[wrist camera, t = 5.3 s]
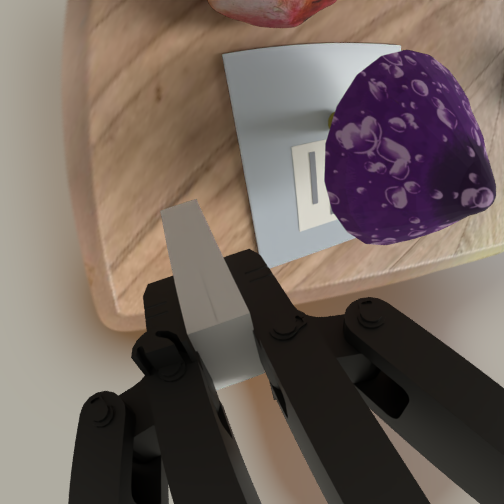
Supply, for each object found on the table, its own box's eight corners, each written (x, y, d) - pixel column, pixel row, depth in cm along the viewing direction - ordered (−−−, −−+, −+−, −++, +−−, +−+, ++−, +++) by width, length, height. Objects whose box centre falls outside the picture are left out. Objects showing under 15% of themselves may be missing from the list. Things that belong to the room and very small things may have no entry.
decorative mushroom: (360, 25, 18) (533, 43, 7) (403, 146, 26) (531, 220, 15) (229, 93, 19) (371, 149, 8) (303, 216, 27) (415, 339, 15)
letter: (221, 54, 18) (223, 54, 17) (398, 45, 20) (401, 45, 20) (261, 269, 29) (263, 271, 29) (395, 221, 32) (397, 223, 32)
